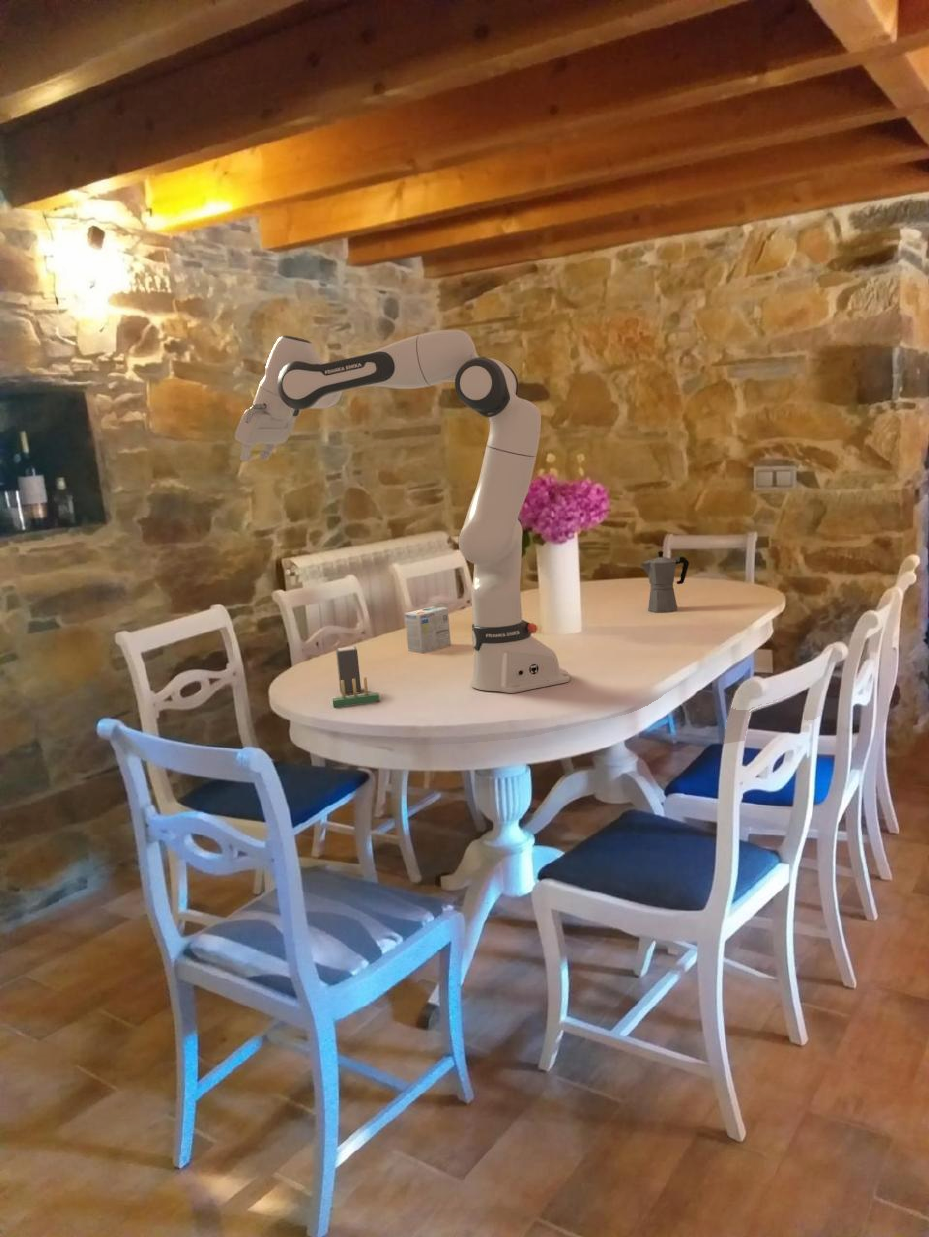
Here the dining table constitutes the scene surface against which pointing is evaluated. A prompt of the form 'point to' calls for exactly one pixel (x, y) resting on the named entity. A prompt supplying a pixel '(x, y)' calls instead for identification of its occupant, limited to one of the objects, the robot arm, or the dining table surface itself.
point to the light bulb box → (427, 629)
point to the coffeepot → (663, 582)
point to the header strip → (355, 696)
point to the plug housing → (348, 668)
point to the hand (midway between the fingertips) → (254, 459)
